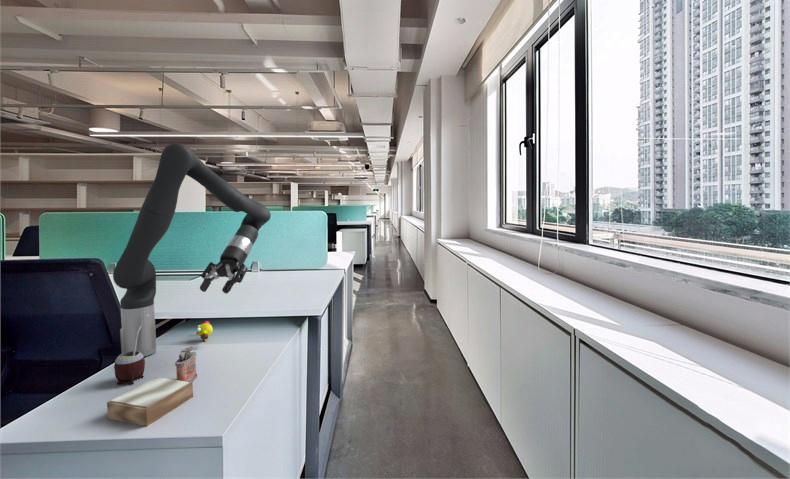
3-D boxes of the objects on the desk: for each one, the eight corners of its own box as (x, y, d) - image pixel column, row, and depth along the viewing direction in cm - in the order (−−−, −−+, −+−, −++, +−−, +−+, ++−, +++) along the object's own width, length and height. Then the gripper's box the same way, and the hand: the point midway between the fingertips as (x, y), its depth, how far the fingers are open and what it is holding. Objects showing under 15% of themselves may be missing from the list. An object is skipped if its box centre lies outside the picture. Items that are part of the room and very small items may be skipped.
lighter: (185, 389, 96) (184, 354, 95) (173, 389, 96) (171, 355, 95) (200, 375, 104) (198, 343, 103) (188, 375, 104) (186, 343, 103)
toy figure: (198, 334, 138) (197, 317, 138) (213, 332, 141) (212, 316, 140) (195, 350, 122) (194, 332, 122) (212, 347, 125) (212, 329, 124)
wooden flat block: (108, 418, 82) (106, 401, 82) (157, 390, 95) (156, 375, 95) (147, 426, 79) (146, 408, 79) (193, 396, 92) (192, 381, 92)
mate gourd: (116, 389, 96) (113, 337, 94) (113, 379, 101) (110, 330, 100) (149, 380, 101) (146, 331, 99) (144, 371, 106) (142, 324, 105)
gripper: (213, 244, 118) (187, 283, 108) (249, 245, 114) (225, 286, 104) (225, 257, 123) (201, 296, 113) (260, 258, 120) (238, 299, 110)
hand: (213, 291), depth 109 cm, fingers open, 8 cm apart
